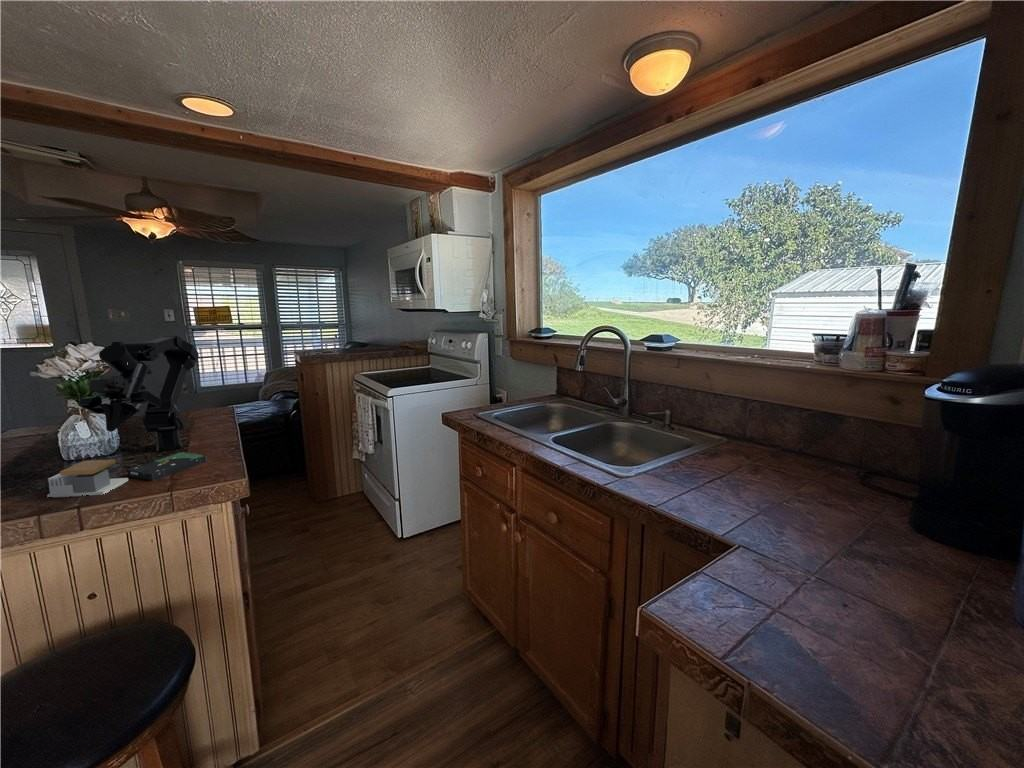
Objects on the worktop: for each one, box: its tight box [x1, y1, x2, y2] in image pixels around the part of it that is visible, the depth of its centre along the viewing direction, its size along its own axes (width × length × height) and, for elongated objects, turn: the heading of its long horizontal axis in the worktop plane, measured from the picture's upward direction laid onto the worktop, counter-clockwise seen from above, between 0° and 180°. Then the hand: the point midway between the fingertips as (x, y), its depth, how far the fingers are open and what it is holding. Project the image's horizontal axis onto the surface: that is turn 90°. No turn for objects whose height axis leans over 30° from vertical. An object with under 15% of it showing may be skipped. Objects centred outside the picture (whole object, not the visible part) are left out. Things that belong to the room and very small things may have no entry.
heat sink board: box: [46, 468, 129, 498], centre depth 106 cm, size 8×12×5 cm
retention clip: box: [59, 458, 117, 477], centre depth 104 cm, size 7×7×6 cm
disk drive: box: [126, 451, 208, 482], centre depth 119 cm, size 10×3×15 cm
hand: (109, 430), depth 111 cm, fingers closed
